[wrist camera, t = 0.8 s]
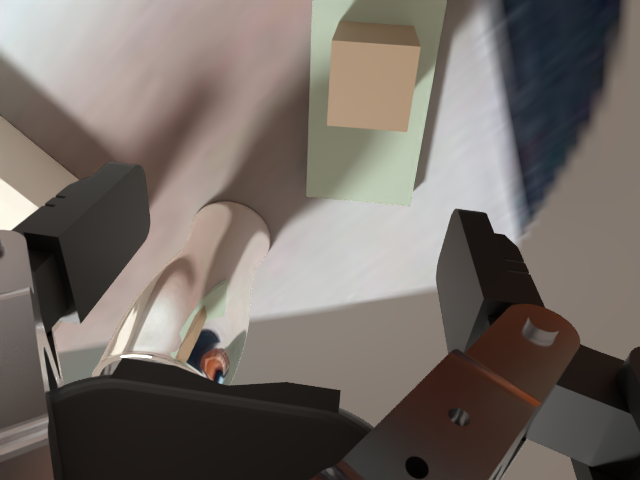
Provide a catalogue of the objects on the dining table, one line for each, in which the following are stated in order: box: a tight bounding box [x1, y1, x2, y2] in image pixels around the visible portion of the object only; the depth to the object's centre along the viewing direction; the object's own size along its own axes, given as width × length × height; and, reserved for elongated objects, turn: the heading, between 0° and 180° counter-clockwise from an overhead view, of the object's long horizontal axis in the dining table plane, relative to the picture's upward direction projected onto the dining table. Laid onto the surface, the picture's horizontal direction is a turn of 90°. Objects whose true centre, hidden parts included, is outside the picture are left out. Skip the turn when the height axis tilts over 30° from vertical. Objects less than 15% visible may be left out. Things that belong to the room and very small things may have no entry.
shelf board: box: [306, 0, 447, 206], centre depth 25 cm, size 18×7×7 cm, turn 177°
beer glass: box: [92, 201, 270, 385], centre depth 30 cm, size 7×7×15 cm
